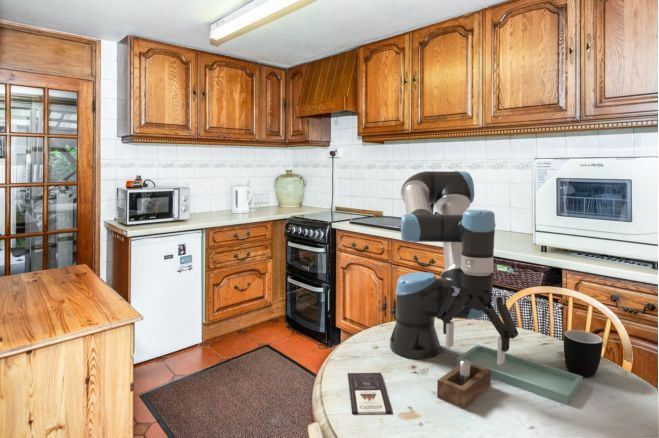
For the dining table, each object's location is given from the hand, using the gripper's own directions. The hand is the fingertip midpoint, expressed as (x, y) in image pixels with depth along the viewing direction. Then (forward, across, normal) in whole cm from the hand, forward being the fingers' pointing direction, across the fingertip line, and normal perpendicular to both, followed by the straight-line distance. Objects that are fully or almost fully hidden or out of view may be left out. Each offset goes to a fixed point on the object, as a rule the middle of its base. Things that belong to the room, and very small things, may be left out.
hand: (473, 354), depth 103 cm
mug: (+8, +17, +29) cm, 35 cm away
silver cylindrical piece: (+8, 0, -4) cm, 9 cm away
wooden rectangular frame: (+8, 0, -4) cm, 9 cm away
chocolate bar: (+9, -17, -21) cm, 29 cm away
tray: (+8, +6, +14) cm, 17 cm away
